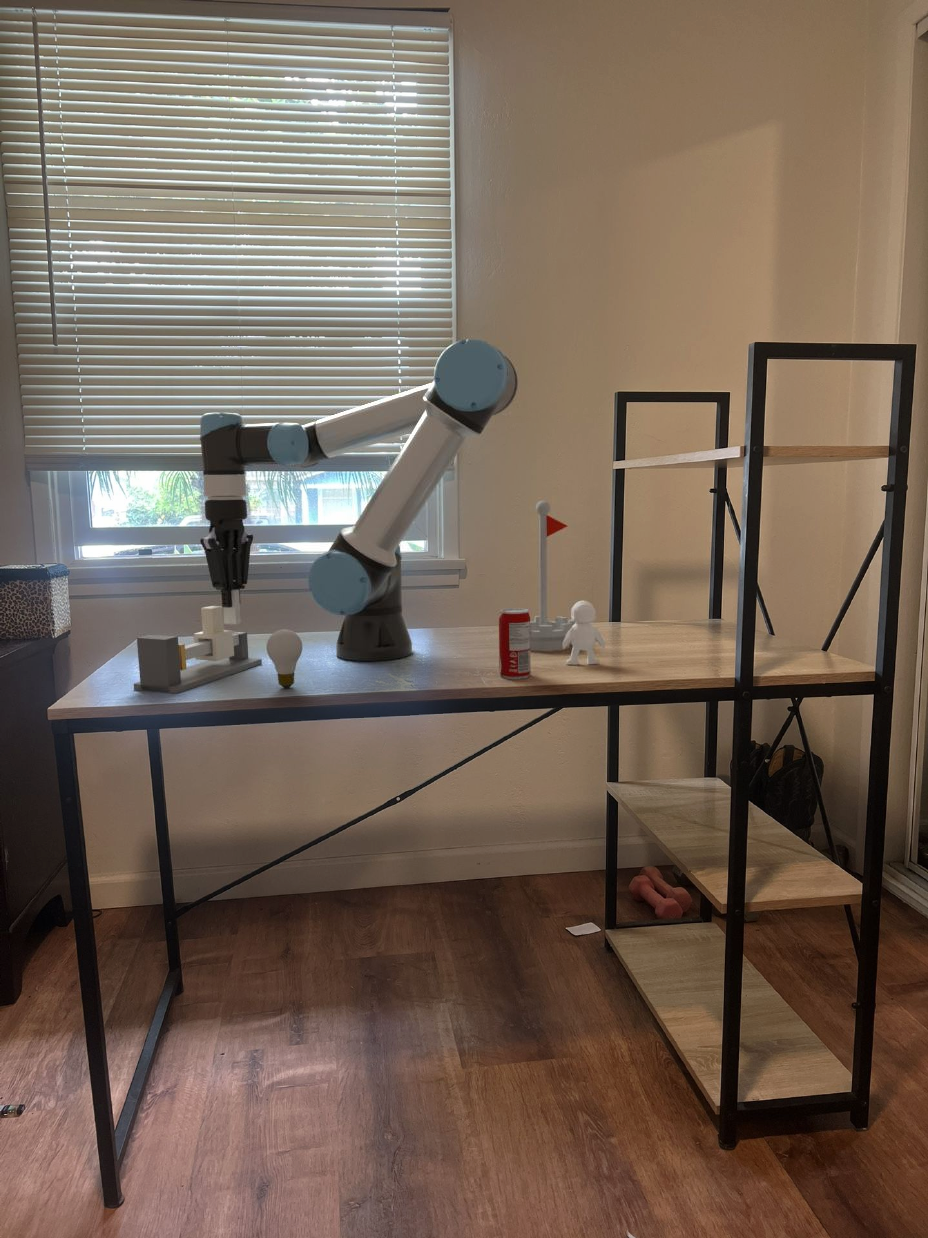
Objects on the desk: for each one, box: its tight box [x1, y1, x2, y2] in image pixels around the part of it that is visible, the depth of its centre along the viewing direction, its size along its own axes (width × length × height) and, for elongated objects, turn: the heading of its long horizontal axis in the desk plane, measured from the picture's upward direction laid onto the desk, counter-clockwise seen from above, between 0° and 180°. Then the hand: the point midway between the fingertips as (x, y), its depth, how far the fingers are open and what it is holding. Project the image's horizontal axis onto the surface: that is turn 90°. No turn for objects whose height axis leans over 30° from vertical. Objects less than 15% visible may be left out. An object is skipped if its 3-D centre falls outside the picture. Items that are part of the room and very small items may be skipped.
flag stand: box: [530, 500, 576, 652], centre depth 172 cm, size 13×13×30 cm
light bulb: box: [266, 628, 303, 689], centre depth 141 cm, size 6×6×10 cm
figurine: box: [562, 600, 606, 666], centre depth 155 cm, size 8×5×12 cm, turn 93°
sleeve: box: [193, 605, 234, 661], centre depth 154 cm, size 5×5×9 cm
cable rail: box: [133, 631, 263, 694], centre depth 151 cm, size 9×24×9 cm, turn 158°
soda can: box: [498, 607, 531, 680], centre depth 146 cm, size 6×6×12 cm
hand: (232, 623), depth 159 cm, fingers closed
